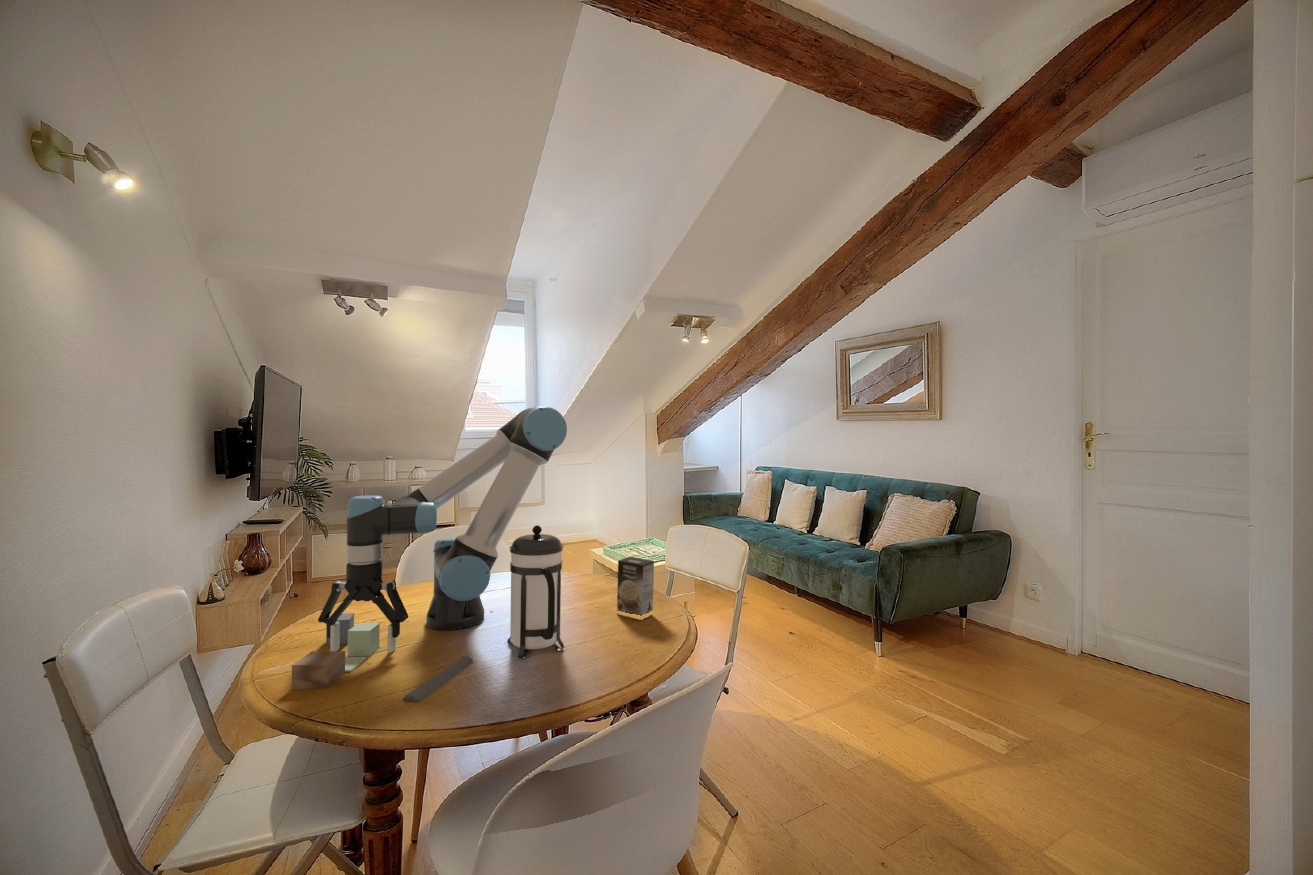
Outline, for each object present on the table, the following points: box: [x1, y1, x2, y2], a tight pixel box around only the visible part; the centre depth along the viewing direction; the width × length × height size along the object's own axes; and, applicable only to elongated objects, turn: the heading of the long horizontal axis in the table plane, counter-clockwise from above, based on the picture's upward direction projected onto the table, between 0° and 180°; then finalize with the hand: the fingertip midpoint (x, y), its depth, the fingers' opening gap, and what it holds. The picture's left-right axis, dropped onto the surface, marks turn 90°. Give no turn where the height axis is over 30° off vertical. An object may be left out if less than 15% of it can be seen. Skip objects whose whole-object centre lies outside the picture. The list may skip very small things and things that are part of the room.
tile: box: [345, 656, 367, 673], centre depth 120 cm, size 7×7×1 cm
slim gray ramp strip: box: [402, 655, 474, 703], centre depth 114 cm, size 4×20×2 cm, turn 167°
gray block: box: [325, 612, 355, 646], centre depth 134 cm, size 5×5×6 cm
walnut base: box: [291, 650, 346, 690], centre depth 113 cm, size 7×7×5 cm
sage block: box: [347, 622, 381, 657], centre depth 128 cm, size 5×5×6 cm
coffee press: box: [506, 524, 565, 659], centre depth 131 cm, size 17×16×30 cm
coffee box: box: [616, 556, 655, 616], centre depth 157 cm, size 9×6×16 cm
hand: (363, 651), depth 128 cm, fingers open, 12 cm apart
